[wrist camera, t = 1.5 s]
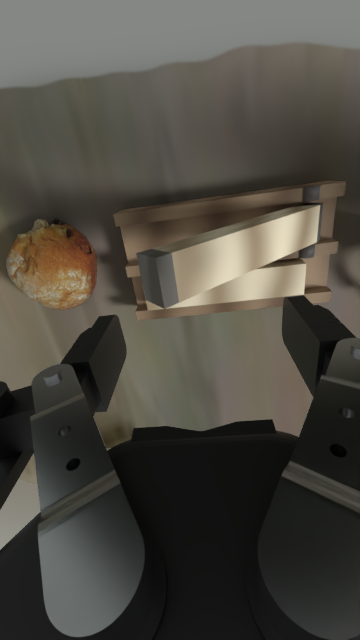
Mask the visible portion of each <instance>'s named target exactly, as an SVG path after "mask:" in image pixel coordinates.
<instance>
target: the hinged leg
mask: <svg viewBox="0 0 360 640" xmlns="http://www.w3.org/2000/svg"><path fill="white" fill-rule="evenodd" d="M322 210H323V203H306V204H300V205H296V206H293V207H289V208H286V209H283V210H279V211H276V212H273V213H269V214H266V215H263V216H259V217H256V218H252V219H249V220H246V221H242V222H239V223H236V224H232V225H229V226H226V227H222V228H219V229H216V230H212V231H209V232H206V233H202V234H199V235H196V236H192V237H189V238H186V239H182V240H179V241H176V242H172V243H169V244H166V245H162V246H159V247H156V248H152V249H149V250H145V251H142V252H139V253H136V255H137V260H138V265H139V269H140V274H141V279H142V284H143V289H144V293H145V298H146V300H147V301H149V302H151V303H153V304H155V305H157V306H159V307H161V308H163V309H166V308H168V307H170V306H173V305H175V304H177V303H180V302H182V301H184V300H186V299H189V298H191V297H193V296H196V295H198V294H200V293H202V292H205V291H207V290H209V289H212V288H214V287H216V286H218V285H221V284H223V283H225V282H228V281H230V280H232V279H234V278H237V277H239V276H241V275H243V274H246V273H248V272H250V271H253V270H255V269H257V268H259V267H262V266H264V265H266V264H269V263H271V262H273V261H275V260H278V259H280V258H282V257H285V256H287V255H289V254H291V253H294V252H296V251H298V250H301V249H303V248H305V247H307V246H310V245H312V244H314V243H317V242H318V241H319V240H320V230H321V220H322Z"/></svg>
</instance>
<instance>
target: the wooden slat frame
mask: <svg viewBox="0 0 360 640" xmlns="http://www.w3.org/2000/svg"><path fill="white" fill-rule="evenodd" d="M345 188H346V182H345V181H328V180H327V181H320V182H313V183H306V184H299V185H292V186H285V187H278V188H271V189H264V190H257V191H250V192H243V193H236V194H229V195H222V196H215V197H208V198H201V199H194V200H187V201H180V202H173V203H166V204H159V205H151V206H144V207H137V208H130V209H123V210H121V211H119V212H117V213H115V214H113V217H114V221H115V225H116V227H119V226H120V229H121V234H122V238H123V242H124V247H125V251H126V256H127V260H128V264H127V265H126V267H125V268H126V272H127V277H131V278H132V282H133V287H134V291H135V295H136V300H137V304H138V307H137V309H136V315H137V320H148V319H158V318H168V317H178V316H188V315H198V314H208V313H219V312H229V311H239V310H249V309H259V308H269V307H279V306H283V300H284V298H285V297H290V296H300V295H304V296H305V297H306V298H307V299H308V300H309V301H310V302H311V303H320V302H330V301H331V296H332V291H331V290H330V289H329V288H328V287H326V285H327V276H328V268H329V259H330V254H335V253H337V250H338V242H339V241H337V240H335V239H332V234H333V226H334V217H335V209H336V200H337V197H340V196H345ZM306 203H323V210H322V220H321V230H320V240H319V241H318V242H317V243H314V244H312V245H310V246H307V247H305V248H303V249H301V250H298V251H296V252H294V253H291V254H289V255H287V256H285V257H282V258H280V259H278V260H275V261H273V262H271V263H269V264H266V265H264V266H262V267H259V268H257V269H255V270H253V271H250V272H248V273H246V274H243V275H241V276H239V277H237V278H234V279H232V280H230V281H228V282H225V283H223V284H221V285H218V286H216V287H214V288H212V289H209V290H207V291H205V292H202V293H200V294H198V295H196V296H193V297H191V298H189V299H186V300H184V301H182V302H180V303H177V304H175V305H173V306H170V307H168V308H166V309H163V308H161V307H159V306H157V305H155V304H153V303H151V302H149V301H147V300H146V298H145V293H144V289H143V284H142V279H141V274H140V269H139V265H138V260H137V255H136V253H139V252H142V251H145V250H149V249H152V248H156V247H159V246H162V245H166V244H169V243H172V242H176V241H179V240H182V239H186V238H189V237H192V236H196V235H199V234H202V233H206V232H209V231H212V230H216V229H219V228H222V227H226V226H229V225H232V224H236V223H239V222H242V221H246V220H249V219H252V218H256V217H259V216H263V215H266V214H269V213H273V212H276V211H279V210H283V209H286V208H289V207H293V206H296V205H300V204H306Z"/></svg>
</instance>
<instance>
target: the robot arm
mask: <svg viewBox="0 0 360 640" xmlns="http://www.w3.org/2000/svg"><path fill="white" fill-rule="evenodd" d="M282 336H283V341H284V344H285V346H286V347H287V349H288V351H289V353H290V355H291V357H292V359H293V360H294V362H295V364H296V366H297V368H298V370H299V372H300V373H301V375H302V377H303V379H304V381H305V383H306V385H307V386H308V388H309V390H310V392H311V394H312V396H313V400H312V402H311V405H310V408H309V410H308V413H307V416H306V419H305V421H304V424H303V427H302V429H301V432H300V435H299V437H297V436H294V435H292V434H288V433H284V432H280V431H276V430H275V427H274V423H273V420H272V419H271V420H255V421H240V422H234V423H231V424H227V425H223V426H220V427H216V428H213V429H209V430H206V431H194V430H188V429H181V428H175V427H169V426H161V427H146V428H134V430H133V434H132V439H131V440H128V441H126V442H123V443H121V444H118V445H116V446H115V447H113V448H111V449H109V450H108V451H107V449H106V447H105V444H104V442H103V439H102V437H101V434H100V432H99V429H98V427H97V425H96V422H95V420H94V417H93V416H94V413H95V412H106V411H107V408H108V406H109V403H110V400H111V397H112V394H113V392H114V389H115V386H116V383H117V381H118V378H119V375H120V372H121V369H122V367H123V364H124V361H125V358H126V344H125V340H124V336H123V333H122V329H121V325H120V322H119V318H118V316H117V315H108V316H99V317H98V319H97V320H96V322H95V323H94V325H93V326H92V328H88V329H87V330H86V331H84V332H83V333H82V334H80V336H79V337H78V339H77V340H76V343H74V344H73V346H72V348H71V349H70V350H69V352H68V353H67V354H66V356H65V357H64V359H63V360H62V362H61V363H60V364H57V365H53V366H51V367H48V368H46V369H44V370H43V371H41V372H40V373H38V374H37V375H36V376H35V377H34V378H33V380H32V383H31V386H28V387H24V388H21V389H18V390H14V391H11V392H10V390H9V388H8V386H7V384H6V383H5V382H2V381H0V509H1V508H2V506H3V504H4V503H5V501H6V499H7V497H8V496H9V494H10V492H11V491H12V489H13V487H14V485H15V484H16V482H17V480H18V479H19V477H20V475H21V473H22V472H23V470H24V468H25V467H26V465H27V463H28V462H29V460H30V458H31V456H32V455H33V453H34V458H35V467H36V475H37V484H38V492H39V502H40V511H41V512H40V513H39V514H38V515H37V516H36V517H35V518H34V519H33V520H31V521H30V522H29V523H28V524H27V525H26V526H25V527H24V528H23V529H22V530H21V531H20V532H19V533H18V534H17V535H16V536H15V537H13V539H11V541H9V542H8V543H7V544H6V545H5V546H4V547H3V548H2V549H1V550H0V640H360V338H356V337H355V336H354V335H353V334H352V333H351V332H350V331H349V330H348V329H347V328H346V327H345V326H344V325H343V324H342V323H341V322H340V321H339V320H338V319H337V318H335V316H334V315H333V314H332V313H331V312H330V311H329V310H328V309H326V308H323V307H321V306H319V305H314V306H313V304H312V303H311V302H310V301H309V300H308V299H307V298H306V297H305V296H304V295H300V296H290V297H285V298H284V300H283V318H282Z"/></svg>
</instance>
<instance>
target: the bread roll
mask: <svg viewBox="0 0 360 640" xmlns="http://www.w3.org/2000/svg"><path fill="white" fill-rule="evenodd" d="M6 268H7V274H8V276H9V277H10V279H11V280H12V282H13V283H14V284H15V285H16V287H17V288H18V289H19V290H20V291H21V292H22V293H23V294H24V295H26V296H27V297H29V298H30V299H32V300H34V301H38V303H40V304H41V305H43V306H45V307H48V308H52V309H57V310H64V309H70V308H74V307H77V306H79V305H80V304H82V303H84V302H85V301H86V300H87V299H88V298H89V296H90V295H91V294H92V292H93V289H94V288H95V284H96V277H97V274H96V272H97V259H96V255H95V251H94V249H93V247H92V246H91V245H90V243H89V241H88V240H87V238H86V237H85V236H84V235H83V234H82V233H80V232H79V231H77V230H76V229H75V228H73V227H71V226H69V225H66V224H65V223H63V222H62V221H61V220H59V219H58V218H57V219H54V220H53V221H52V222H51V223H50V225H49V224H48V222H47V221H46V220H44V219H43V220H42V219H37V220H36V221H35V222H34V227H33V228H32V229H31V231H28V232H27V233H22V234H18V235H17V238H16V240H15V241H14V242H13V244H12V245H11V247H10V250H9V252H8V255H7V258H6Z"/></svg>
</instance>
